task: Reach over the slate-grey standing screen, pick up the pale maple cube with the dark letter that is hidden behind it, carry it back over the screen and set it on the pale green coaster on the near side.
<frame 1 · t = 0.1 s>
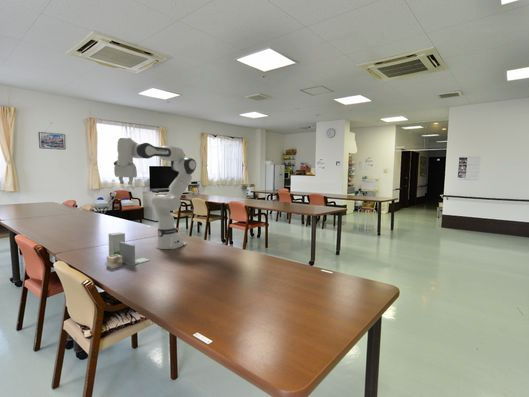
hand: (125, 184, 186), 48 cm above the table, fingers open, 8 cm apart
letter cube: (114, 266, 172), on the table
screen: (127, 262, 178), on the table
coaster: (141, 261, 182), on the table
skincare box: (117, 256, 190), on the table
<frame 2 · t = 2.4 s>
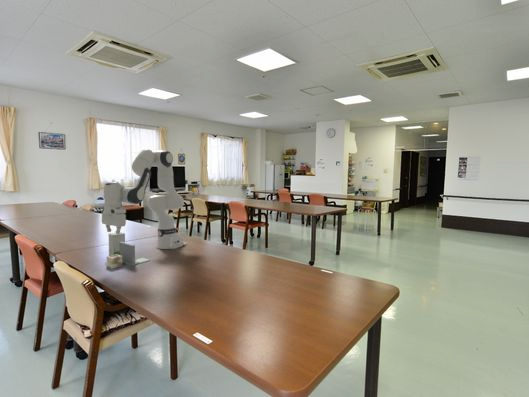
hand: (113, 232, 170), 20 cm above the table, fingers open, 8 cm apart
nothing on the table moved.
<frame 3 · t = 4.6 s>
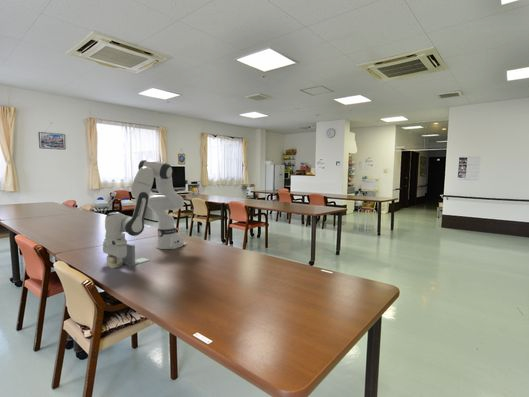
hand: (114, 262, 172), 2 cm above the table, fingers closed on letter cube, 6 cm apart
letter cube: (114, 265, 172), on the table, touching gripper
everything else where it was.
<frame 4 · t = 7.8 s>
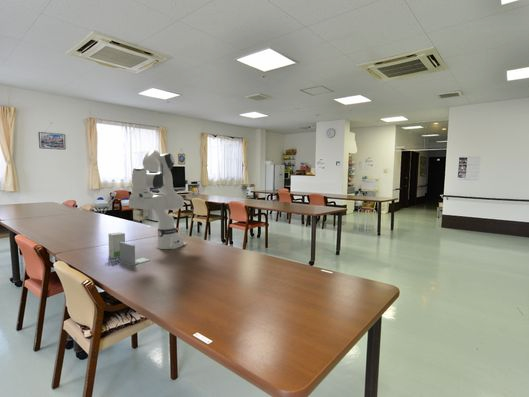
hand: (140, 216, 179), 29 cm above the table, fingers closed on letter cube, 6 cm apart
letter cube: (140, 219, 179), point 27 cm above the table, touching gripper
everything else where it was.
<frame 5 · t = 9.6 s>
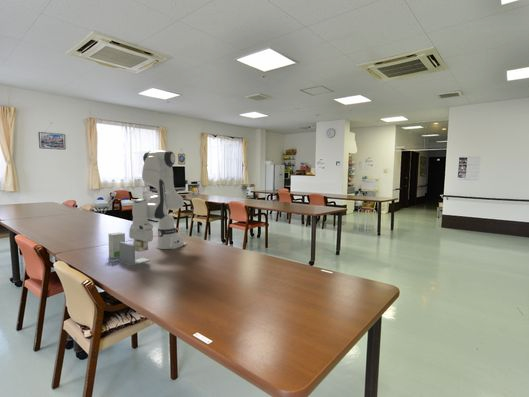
hand: (140, 246, 181), 9 cm above the table, fingers closed on letter cube, 6 cm apart
letter cube: (140, 250, 181), point 7 cm above the table, touching gripper
everything else where it was.
when the fingers open (4 cm above the table, at t = 11.0 s): letter cube drops 1 cm, resting on coaster.
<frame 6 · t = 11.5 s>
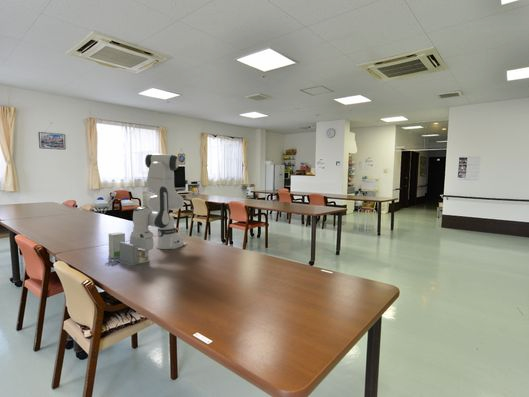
hand: (141, 254, 182), 4 cm above the table, fingers open, 8 cm apart
letter cube: (141, 260, 182), point 1 cm above the table, touching coaster
everything else where it was.
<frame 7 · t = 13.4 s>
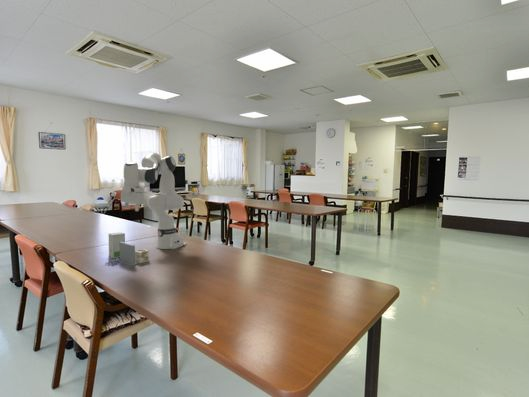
hand: (132, 210, 183), 32 cm above the table, fingers open, 8 cm apart
nothing on the table moved.
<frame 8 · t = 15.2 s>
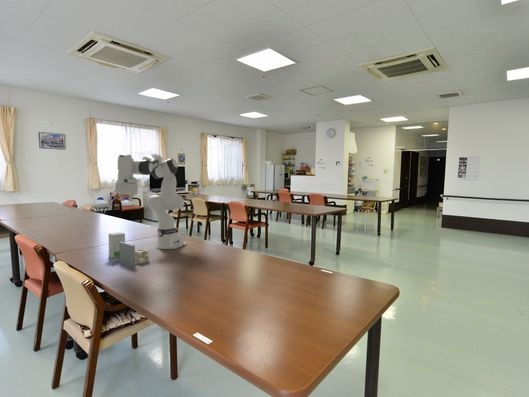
hand: (126, 201, 185), 37 cm above the table, fingers open, 8 cm apart
nothing on the table moved.
at the end: letter cube inside the target area on the coaster (0.0 cm from its centre), point 0.6 cm above the coaster's base; letter cube tilted 0°; the gripper is holding nothing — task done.
